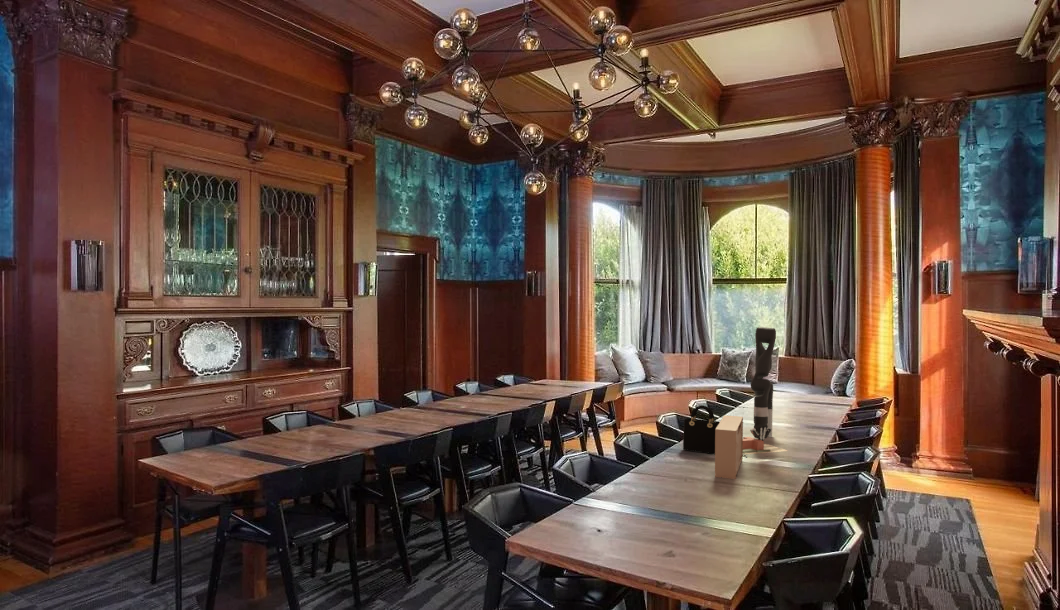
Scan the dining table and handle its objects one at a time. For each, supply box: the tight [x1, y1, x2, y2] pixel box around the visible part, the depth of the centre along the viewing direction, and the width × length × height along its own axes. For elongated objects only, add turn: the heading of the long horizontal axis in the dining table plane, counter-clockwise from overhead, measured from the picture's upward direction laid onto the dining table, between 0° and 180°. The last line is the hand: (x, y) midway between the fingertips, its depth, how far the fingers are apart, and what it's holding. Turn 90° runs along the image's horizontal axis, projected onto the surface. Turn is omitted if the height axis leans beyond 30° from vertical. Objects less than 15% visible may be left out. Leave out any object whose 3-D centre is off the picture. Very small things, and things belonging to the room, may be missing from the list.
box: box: [714, 414, 744, 480], centre depth 315 cm, size 10×40×22 cm, turn 157°
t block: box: [743, 436, 765, 450], centre depth 352 cm, size 12×11×5 cm
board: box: [743, 442, 789, 457], centre depth 354 cm, size 24×28×2 cm
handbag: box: [682, 405, 720, 455], centre depth 350 cm, size 21×9×25 cm, turn 58°
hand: (760, 445), depth 354 cm, fingers closed
